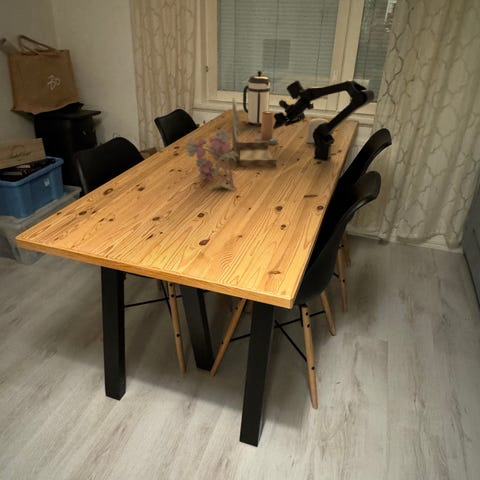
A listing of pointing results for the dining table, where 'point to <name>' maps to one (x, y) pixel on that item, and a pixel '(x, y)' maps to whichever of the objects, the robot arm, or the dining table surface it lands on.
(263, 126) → the tan tapered cylinder
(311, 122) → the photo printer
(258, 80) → the coffee press
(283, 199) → the dining table surface
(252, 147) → the cold frame
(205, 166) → the flower
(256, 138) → the grey plate
